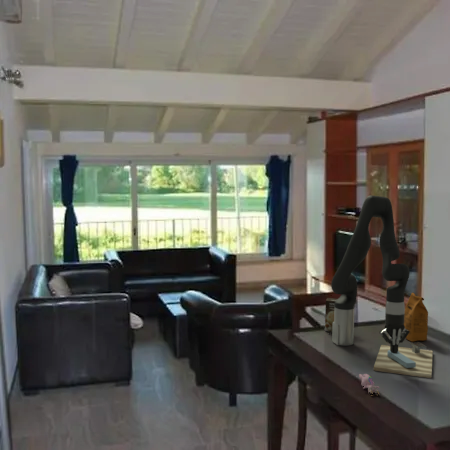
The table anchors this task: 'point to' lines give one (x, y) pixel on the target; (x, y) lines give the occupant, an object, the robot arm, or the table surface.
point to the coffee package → (416, 319)
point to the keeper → (417, 347)
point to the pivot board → (393, 366)
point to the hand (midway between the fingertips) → (394, 352)
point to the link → (402, 359)
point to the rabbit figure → (368, 383)
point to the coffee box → (329, 313)
